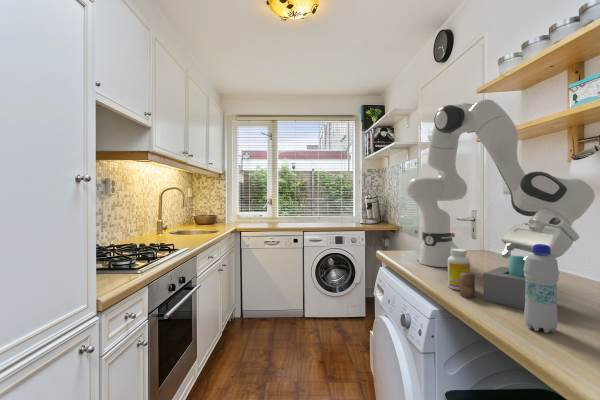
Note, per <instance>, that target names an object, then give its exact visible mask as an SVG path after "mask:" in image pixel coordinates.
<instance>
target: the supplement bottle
mask: <svg viewBox="0 0 600 400" xmlns="http://www.w3.org/2000/svg"><path fill="white" fill-rule="evenodd" d="M451 254H452V256H451V257H449V258H448V267H447V287H448V288H450V289H451V290H455V291H460V273H461V272H469V273H471V272H470V271H471V269H470V263H471V262H470V258H468V257H466V256H467V250H466V249H464V248H459V249H451Z"/></svg>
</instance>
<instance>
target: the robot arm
mask: <svg viewBox="0 0 600 400" xmlns="http://www.w3.org/2000/svg"><path fill="white" fill-rule="evenodd" d="M433 119H434V121H433V122H434V126H433V129H432V132H431V136H430V141H429V145H428V146H429V147H428V153H427V164H428V166H429V167H431V168H432V169H433V170H436V171H437V176H420V177H413V178H411V179H410V180H409V182H408V184H407V186H406V193H407V195H408V198H410V199H411V200H412V201H413V202H415V203H416V204H417V206H418V207H419V209H420V211H421V215H422V226H423V231H421V232H422V233H421V237H422V242H420V246H419V255H418V256H419V257H418V258H417V259H416V260H417V262H419V264H421V265H423V266H430V267H437V268H438V267H439V268H448V258H449V257H451V256H452V254H451V249H460V248H459V247H458V245H456V243H455V242H454V241H453V238H455V232H451V216H450V214H449V213H448V212H447V211H445V210H443V209H442V208H440V206H439V204H438V202H452V201H453V202H454V201H457V200H462V199H463V198H464V197H465V196H466V195H467V192H468V185H467V182H466V181H465V180H464V179H463V178H462V177H461V176H460V175H459V173H458V171H457V167H456V166H457V165H456V163H457V161H456V160H457V153H458V146H459V141H460V140H459V139H460V137H461V136H462V134H464V133H467V134H470V133H475V134H476V136H477V137H478V139H479V140H480V143H481V144H482V145H483V146H484V148H485V149H486V151H487V153H488V154H489V156H490V157H491V159H492V161H493V163H494V164H495V166H496V168H497V171H498V172H499V174H500V176H501V177H502V180H503V182H504V183H505V185H506V187H507V189H508V190H509V192H510V202H511V206H512V208H513V210H514V211H516V212H517V213H518V214H520V215H522V216H525V217H530V219H528V223H527V222H523V223H522V224H516V225H514V226H513V227H511V228H510V229H509V230H508V231H507V232H506V233H505V234H504V235H502V236H501V242H503V244H504V245H505V246H504V249H503V251H502V252H501V256H502V257H503V258H505V259H509V256H512V254H511V252H512V251H514V250H515V249H516V250H521V251H524V252H528V253H532V254H534V253H533V246H534V245H536V244H544V245H548V246H549V247H550V249H551V253H550V255H549V256H551V257H553V258H555V259H557V258H560V257H561V256H563V255H564V254H566V252H567V251H568V250H569V249H570V248H571V247H572V245H573V243H574V242H576V241H578V240H579V239H580V235H579V233H578V232H576V231H575V229H574V228H573V227H572V225H573V223H574V222H575V221H577V220H579V219H580V218H581V217H582V216H583V215H584V214H585V213H586V212H587V211H588V210H589V209H590V208H591V205H592V204H593V203H594V201H595V198H596V197H595V195H596V194H595V191H594V189H593V188H592V186H590V185H589V184H588V183H587V182H585V181H583V180H581V179H578V178H572V179H571V178H570V179H568V178H561V177H556V176H553V175H551V174H550V173H547V172H545V171H531V172H529V173H525V171H524V170H523V168H522V166H521V165H520V163H519V159H518V144H519V132H518V130H517V126H516V125H515V122H514V121H513V120H512V118H511V117H510V116H509V115H508V113H507V112H506V111H505V110H504V109H503V107H501V106H500V105H499V104H498V103H497V102H495V101H494V100H492V99H485V98H484V99H482V100H479V101H477V102H476V103H468V102H467V103H465V102H464V103H460V104H448V105H444V106H442V107H440V108H439V109H438V110H437V111H436V112H435V115H434V118H433ZM527 256H528V255H527ZM527 256H524V257H525V259H526V257H527ZM525 259H524V260H523V261H524V262H525Z"/></svg>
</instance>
